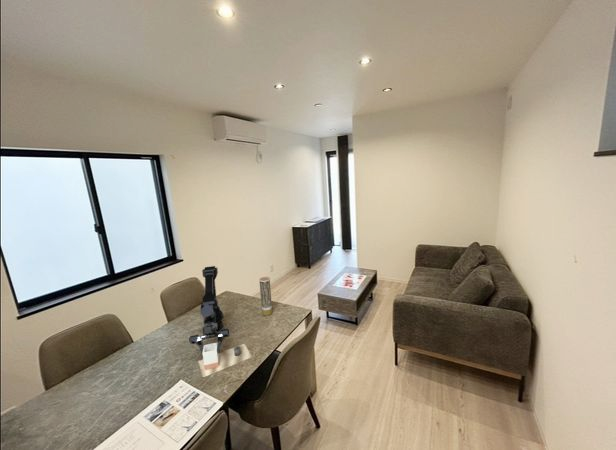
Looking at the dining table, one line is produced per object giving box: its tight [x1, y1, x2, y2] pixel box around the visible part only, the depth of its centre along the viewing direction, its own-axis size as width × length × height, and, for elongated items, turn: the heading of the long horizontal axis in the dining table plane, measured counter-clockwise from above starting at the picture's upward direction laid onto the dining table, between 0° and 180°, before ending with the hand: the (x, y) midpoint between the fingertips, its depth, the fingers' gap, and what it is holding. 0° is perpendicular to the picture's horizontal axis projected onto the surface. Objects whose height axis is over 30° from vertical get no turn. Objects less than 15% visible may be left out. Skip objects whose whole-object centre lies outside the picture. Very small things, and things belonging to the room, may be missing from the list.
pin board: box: [198, 343, 253, 378], centre depth 129 cm, size 24×13×4 cm, turn 122°
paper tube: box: [259, 276, 273, 316], centre depth 171 cm, size 7×7×25 cm
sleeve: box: [201, 342, 220, 370], centre depth 126 cm, size 6×6×9 cm
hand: (210, 354), depth 124 cm, fingers closed on sleeve, 6 cm apart
